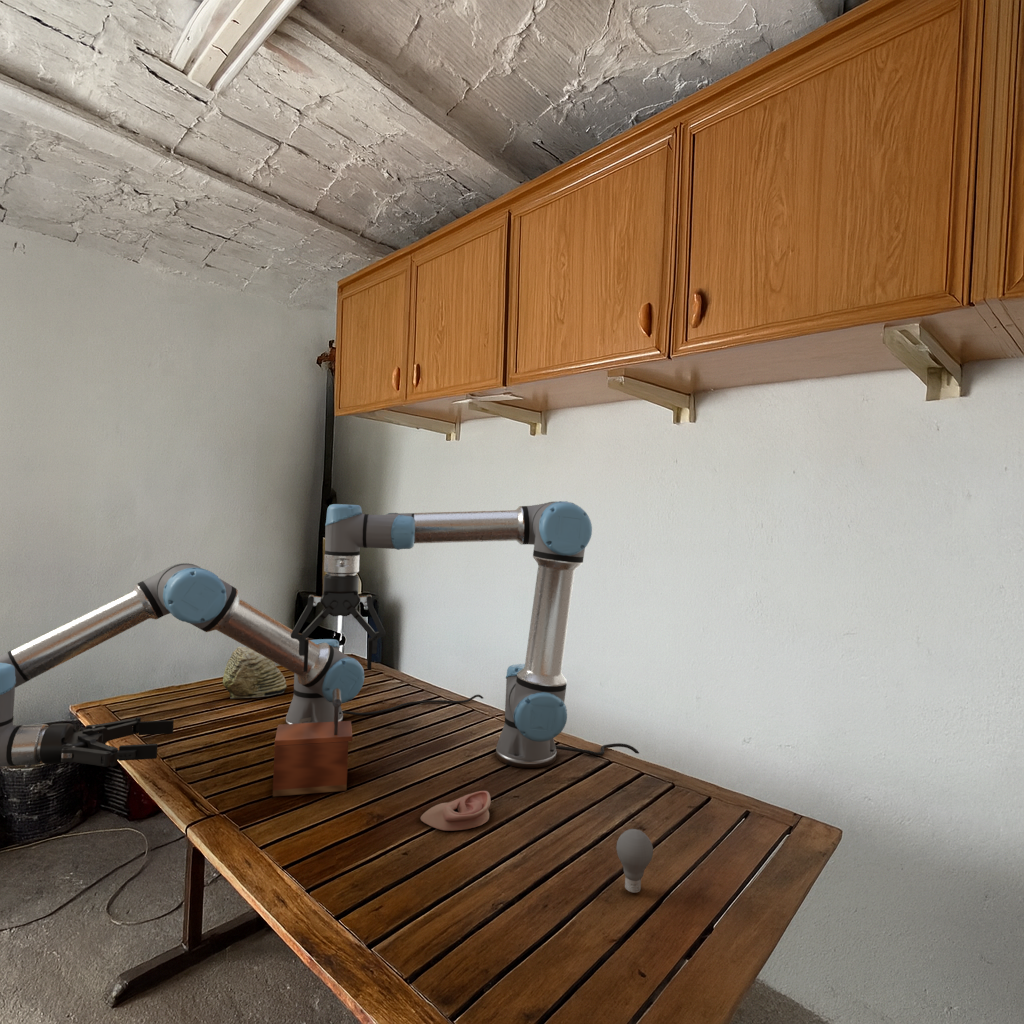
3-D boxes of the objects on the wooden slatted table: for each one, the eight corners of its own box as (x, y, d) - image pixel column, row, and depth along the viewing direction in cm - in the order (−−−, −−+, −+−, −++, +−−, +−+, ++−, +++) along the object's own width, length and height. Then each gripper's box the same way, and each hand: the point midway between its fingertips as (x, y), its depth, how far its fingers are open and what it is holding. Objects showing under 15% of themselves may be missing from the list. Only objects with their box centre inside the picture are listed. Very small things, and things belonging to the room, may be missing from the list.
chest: (345, 771, 146) (347, 725, 146) (346, 790, 137) (348, 741, 137) (276, 776, 142) (278, 729, 142) (272, 796, 133) (274, 746, 133)
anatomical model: (415, 806, 123) (434, 781, 134) (414, 826, 123) (433, 799, 134) (481, 816, 120) (495, 789, 132) (480, 836, 120) (494, 808, 132)
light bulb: (610, 879, 108) (613, 822, 108) (644, 879, 109) (647, 822, 109) (619, 902, 102) (622, 840, 102) (655, 901, 103) (658, 840, 103)
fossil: (218, 695, 195) (220, 647, 195) (278, 685, 208) (279, 640, 207) (228, 703, 189) (230, 653, 188) (289, 692, 201) (290, 645, 201)
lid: (350, 725, 146) (352, 686, 146) (352, 741, 137) (353, 699, 137) (278, 729, 142) (279, 689, 142) (274, 746, 133) (276, 703, 133)
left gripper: (69, 739, 137) (178, 734, 143) (15, 791, 113) (148, 782, 119) (71, 705, 137) (179, 701, 143) (17, 749, 113) (149, 743, 119)
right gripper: (280, 575, 133) (276, 675, 134) (400, 576, 140) (396, 671, 140) (283, 571, 140) (279, 666, 141) (396, 572, 147) (392, 662, 148)
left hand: (165, 738), depth 131 cm, fingers open, 13 cm apart
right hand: (337, 669), depth 141 cm, fingers open, 13 cm apart
